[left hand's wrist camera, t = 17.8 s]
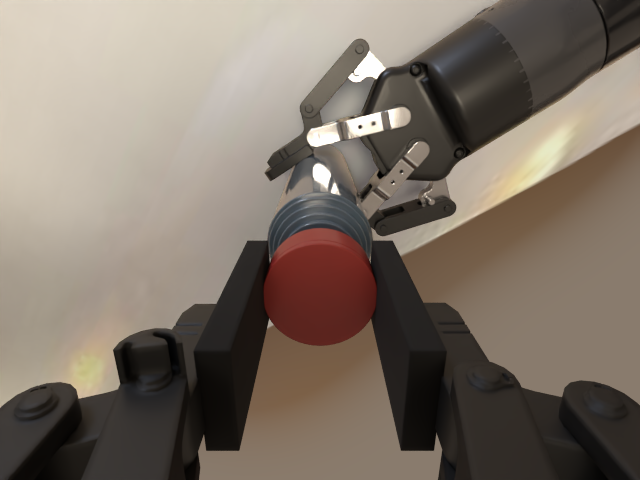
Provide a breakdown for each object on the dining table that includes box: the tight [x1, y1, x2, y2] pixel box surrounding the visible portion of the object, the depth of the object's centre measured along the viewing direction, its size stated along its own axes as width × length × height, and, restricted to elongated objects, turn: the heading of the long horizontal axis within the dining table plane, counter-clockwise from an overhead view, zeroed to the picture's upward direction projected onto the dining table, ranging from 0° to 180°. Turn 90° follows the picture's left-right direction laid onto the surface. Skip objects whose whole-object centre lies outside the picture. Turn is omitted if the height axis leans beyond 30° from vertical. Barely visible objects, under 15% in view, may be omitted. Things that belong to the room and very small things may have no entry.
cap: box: [263, 228, 377, 346], centre depth 14 cm, size 4×4×2 cm
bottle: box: [267, 144, 373, 259], centre depth 24 cm, size 5×5×23 cm
